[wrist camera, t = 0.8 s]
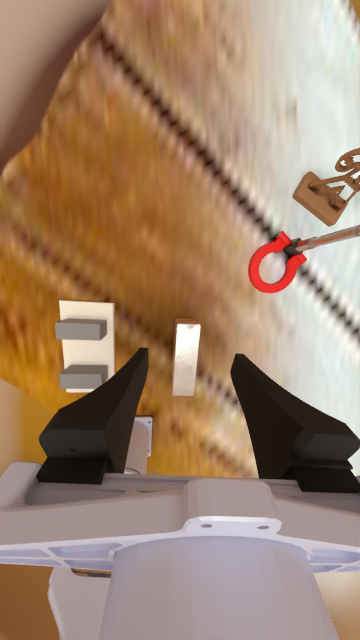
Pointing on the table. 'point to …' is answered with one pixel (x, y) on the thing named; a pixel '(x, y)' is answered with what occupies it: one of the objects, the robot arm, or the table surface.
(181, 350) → the white long rectangular piece
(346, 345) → the table surface
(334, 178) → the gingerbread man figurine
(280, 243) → the tow hook
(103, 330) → the peg rack
